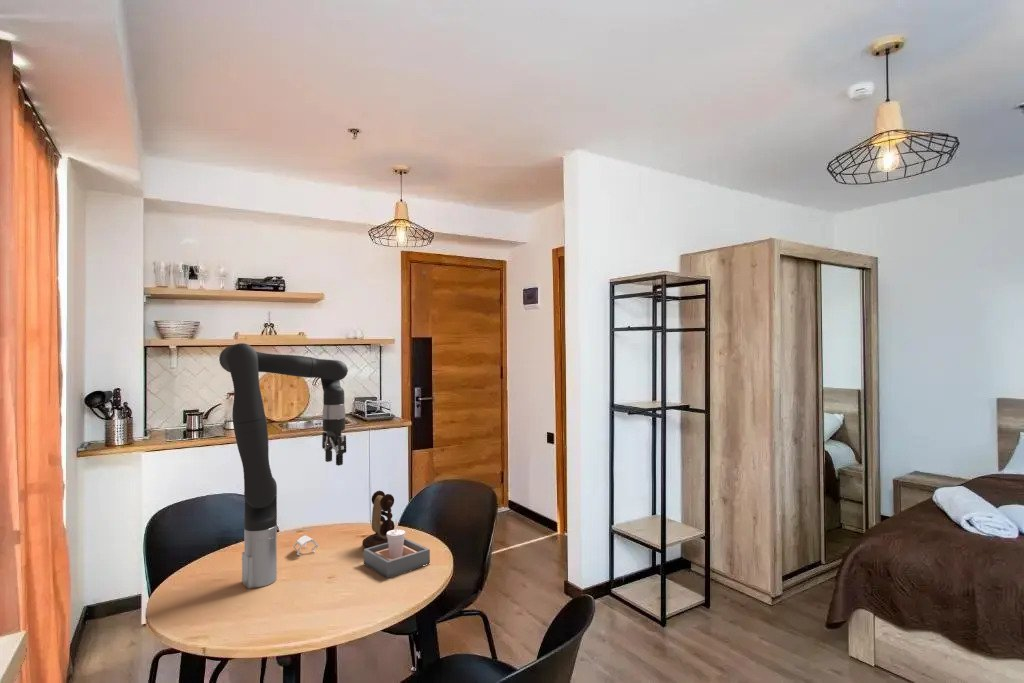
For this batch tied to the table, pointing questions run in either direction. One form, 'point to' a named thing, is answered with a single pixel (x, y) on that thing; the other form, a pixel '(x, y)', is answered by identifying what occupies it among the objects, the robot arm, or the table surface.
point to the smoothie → (395, 542)
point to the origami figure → (304, 541)
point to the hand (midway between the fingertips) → (334, 463)
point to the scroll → (380, 519)
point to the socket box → (389, 568)
